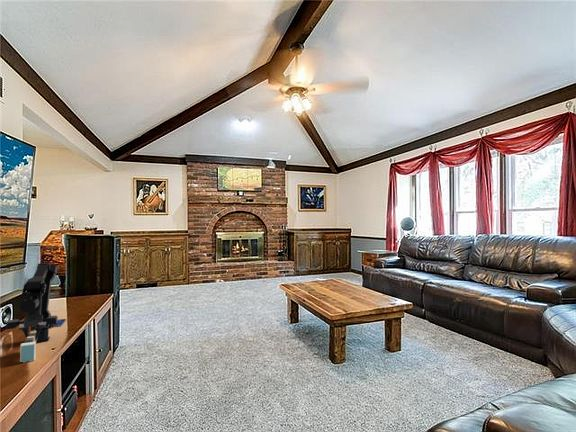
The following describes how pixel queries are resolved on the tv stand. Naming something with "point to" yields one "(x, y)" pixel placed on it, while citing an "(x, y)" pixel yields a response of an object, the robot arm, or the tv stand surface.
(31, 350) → the tile
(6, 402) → the tv stand surface
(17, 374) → the tv stand surface
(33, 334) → the curved white panel
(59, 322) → the smartphone
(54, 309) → the tv stand surface
